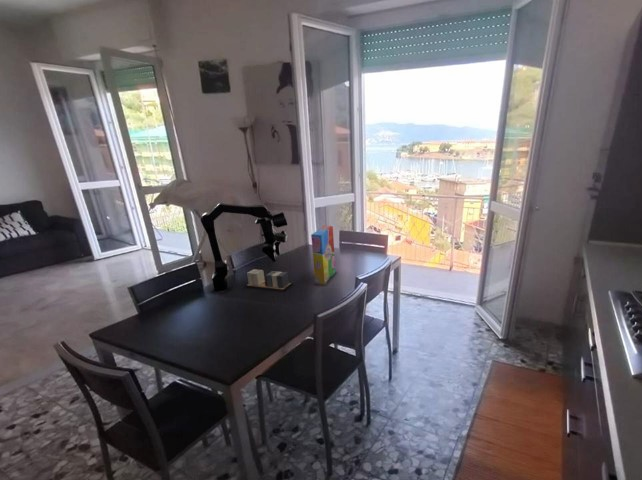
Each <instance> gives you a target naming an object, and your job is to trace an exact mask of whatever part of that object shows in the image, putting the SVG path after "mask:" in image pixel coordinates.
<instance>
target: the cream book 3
mask: <svg viewBox="0 0 642 480" xmlns="http://www.w3.org/2000/svg"><path fill="white" fill-rule="evenodd" d="M282 272H283V271H277V272H276V273H274V274H273V275H271V276H272V283H273V287H277V288H278V281H277V276H278V275H279V274H281V273H282Z"/></svg>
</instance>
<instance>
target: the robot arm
mask: <svg viewBox="0 0 642 480" xmlns="http://www.w3.org/2000/svg"><path fill="white" fill-rule="evenodd" d="M223 213H225V214H227V213H228V214H238V215H249V216H252V217H255V218H256V220H255V225H258V224H259V226H260V229H261V232H262V233H261V236H262V237H263V238H264V243H263V245H262V247H261V248H260V249H261V252H262V253H263V254H265V255H266V256H267V257H268V258H269V259H270V260H271V261H272V262H273V263H275V262H276V261H277V259H276V255H277V256H281V251H280V250H281V248H280V247H281V243H286V242H287V240H288V233H286V230H281V232H277V230H276V229H274V228H277V229H278V228H283V227H286V226H288V222H287V218H286V216H285V213H284V212H283V211H281V212H278V213H274V214H273V213H272V212H270V211H269V210H268V208H267V206H266V205H264V204H253V205H242V204H233V203H232V204H231V203H223V202H219V203H218V204H217V205H216V206H214V208H212V209H211V210H209V211H207V212H204V213H202V215H201V217H200V223H201V225H202V227H203V229H204V231H205V232H206V234H207V238H208V242H209V246H210V248H211V252H212V253H211V254H212V257H213V260H214V272H213V273H212V277H211V281H212V286H213V289H214V291H215V292H222V291H226V290H227V289H228V282H227V281H228V280H227V278H226V277H227V276H228V272H229V271H230V266H229V264H228V260H224V258H223V254H222V250H221V248H220V243H219V238H218V235H217V231H216V220H217V219H218V218H219V217H220V216H221V215H222V214H223Z"/></svg>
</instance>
